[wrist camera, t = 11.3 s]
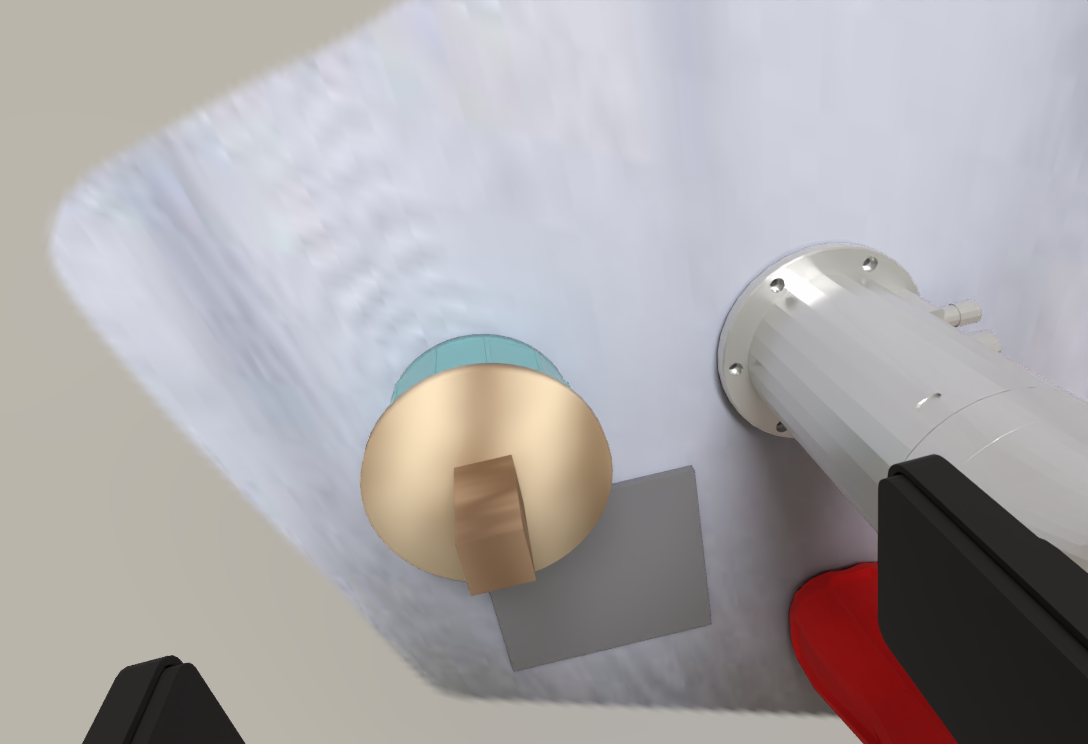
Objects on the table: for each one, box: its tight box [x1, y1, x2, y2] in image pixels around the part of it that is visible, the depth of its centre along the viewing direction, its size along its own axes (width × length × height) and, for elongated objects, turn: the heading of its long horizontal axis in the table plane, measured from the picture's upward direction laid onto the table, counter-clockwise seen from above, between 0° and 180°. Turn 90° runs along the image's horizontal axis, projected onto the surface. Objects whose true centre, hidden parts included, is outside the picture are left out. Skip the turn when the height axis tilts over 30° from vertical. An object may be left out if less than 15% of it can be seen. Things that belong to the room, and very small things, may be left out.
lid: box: [360, 363, 613, 596], centre depth 34 cm, size 13×13×7 cm
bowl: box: [390, 334, 570, 405], centre depth 40 cm, size 11×11×6 cm
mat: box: [490, 465, 712, 671], centre depth 48 cm, size 15×14×1 cm
